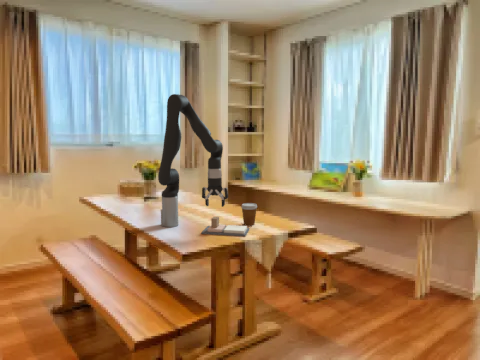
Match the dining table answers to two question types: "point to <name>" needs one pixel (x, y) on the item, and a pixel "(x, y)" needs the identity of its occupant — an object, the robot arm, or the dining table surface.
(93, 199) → the dining table surface
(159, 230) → the dining table surface
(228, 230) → the ticket base
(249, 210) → the disposable coffee cup
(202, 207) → the dining table surface
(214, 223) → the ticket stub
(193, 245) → the dining table surface
